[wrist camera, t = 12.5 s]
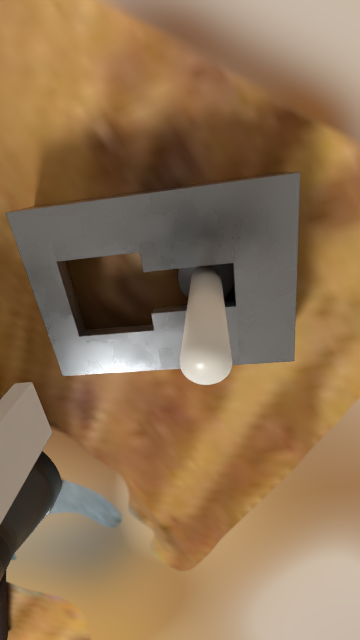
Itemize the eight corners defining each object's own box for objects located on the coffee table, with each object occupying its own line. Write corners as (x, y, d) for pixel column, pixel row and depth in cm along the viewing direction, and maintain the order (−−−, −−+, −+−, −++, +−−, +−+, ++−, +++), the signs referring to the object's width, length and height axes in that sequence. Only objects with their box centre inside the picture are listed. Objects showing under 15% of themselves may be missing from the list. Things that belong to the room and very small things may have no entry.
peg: (182, 299, 28) (163, 405, 16) (176, 248, 26) (148, 322, 14) (234, 294, 28) (258, 400, 15) (231, 242, 26) (255, 313, 13)
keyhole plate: (79, 352, 31) (62, 376, 28) (33, 206, 26) (5, 212, 22) (283, 337, 29) (294, 361, 25) (285, 171, 23) (300, 172, 19)
